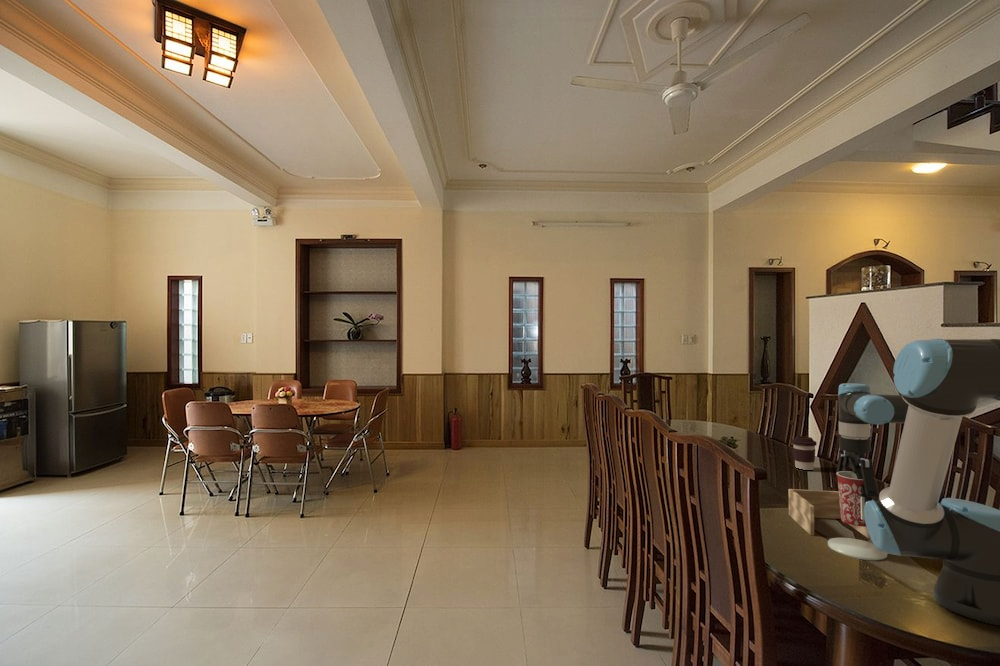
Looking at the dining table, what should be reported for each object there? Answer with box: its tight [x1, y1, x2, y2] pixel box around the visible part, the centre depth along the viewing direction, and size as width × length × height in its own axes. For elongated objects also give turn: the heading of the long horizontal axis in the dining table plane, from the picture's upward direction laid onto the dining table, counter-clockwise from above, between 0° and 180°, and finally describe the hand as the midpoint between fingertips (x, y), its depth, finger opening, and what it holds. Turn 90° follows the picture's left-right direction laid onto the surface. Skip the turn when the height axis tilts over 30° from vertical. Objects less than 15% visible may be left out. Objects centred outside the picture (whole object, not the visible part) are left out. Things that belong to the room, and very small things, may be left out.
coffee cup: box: [791, 435, 817, 471], centre depth 234 cm, size 10×10×15 cm
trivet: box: [827, 537, 888, 562], centre depth 144 cm, size 14×14×1 cm
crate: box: [788, 488, 871, 540], centre depth 162 cm, size 18×17×9 cm
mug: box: [837, 471, 876, 527], centre depth 144 cm, size 13×9×14 cm
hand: (855, 512), depth 144 cm, fingers closed on mug, 12 cm apart
